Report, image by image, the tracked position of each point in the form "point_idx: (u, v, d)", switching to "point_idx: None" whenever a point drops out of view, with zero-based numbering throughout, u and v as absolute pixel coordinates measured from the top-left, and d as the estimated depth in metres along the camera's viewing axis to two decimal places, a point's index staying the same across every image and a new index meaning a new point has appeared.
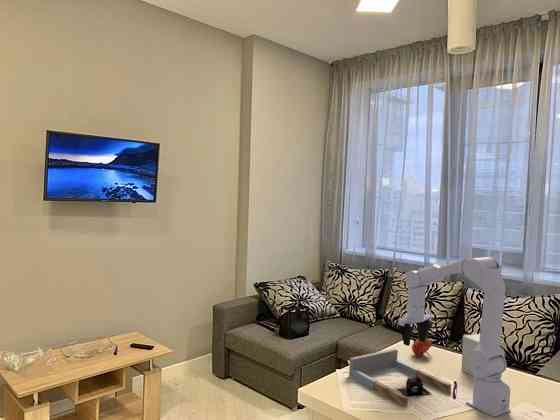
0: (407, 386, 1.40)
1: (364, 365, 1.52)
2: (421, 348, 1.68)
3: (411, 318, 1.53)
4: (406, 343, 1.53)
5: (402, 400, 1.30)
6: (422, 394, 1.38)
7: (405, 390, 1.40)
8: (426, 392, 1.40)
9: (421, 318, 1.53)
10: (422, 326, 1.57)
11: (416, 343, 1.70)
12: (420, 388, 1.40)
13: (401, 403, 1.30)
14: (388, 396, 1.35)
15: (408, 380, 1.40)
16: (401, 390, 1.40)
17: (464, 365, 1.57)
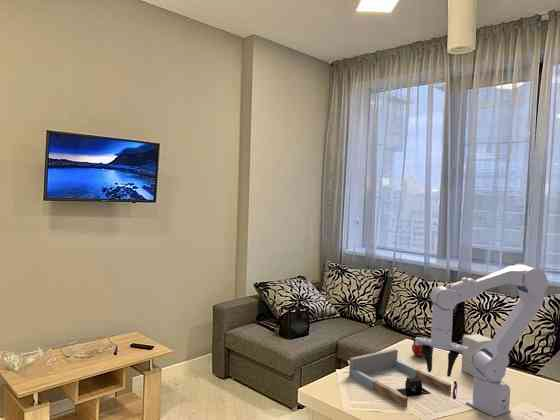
0: (407, 386, 1.40)
1: (364, 365, 1.52)
2: (421, 348, 1.68)
3: (430, 341, 1.32)
4: None
5: (402, 400, 1.30)
6: (422, 393, 1.39)
7: (405, 390, 1.40)
8: (425, 391, 1.40)
9: (438, 343, 1.29)
10: None
11: None
12: (419, 387, 1.40)
13: (401, 403, 1.30)
14: (388, 396, 1.35)
15: (408, 380, 1.40)
16: (401, 390, 1.40)
17: (464, 365, 1.57)
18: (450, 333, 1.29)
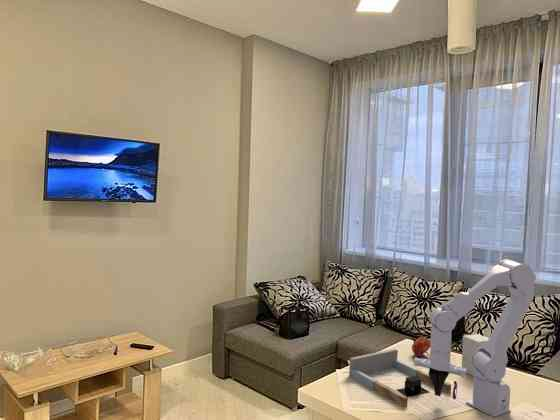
0: (406, 386, 1.40)
1: (364, 365, 1.52)
2: (421, 348, 1.68)
3: (429, 362, 1.33)
4: None
5: (402, 400, 1.30)
6: (421, 392, 1.39)
7: (404, 390, 1.40)
8: (424, 390, 1.41)
9: (436, 365, 1.29)
10: None
11: (416, 343, 1.70)
12: (418, 387, 1.41)
13: (401, 403, 1.30)
14: (388, 396, 1.35)
15: (407, 380, 1.40)
16: (400, 390, 1.40)
17: (464, 365, 1.57)
18: (449, 355, 1.29)
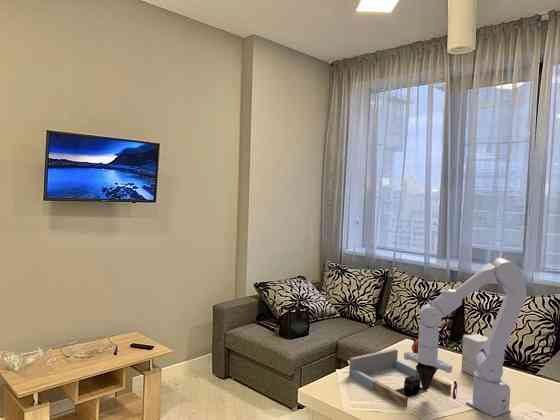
0: (406, 386, 1.40)
1: (364, 365, 1.52)
2: None
3: None
4: None
5: (402, 400, 1.30)
6: (421, 392, 1.40)
7: (404, 390, 1.40)
8: (422, 389, 1.42)
9: (422, 359, 1.34)
10: None
11: (416, 343, 1.70)
12: (417, 386, 1.41)
13: (401, 403, 1.30)
14: (388, 396, 1.35)
15: (407, 380, 1.40)
16: (400, 390, 1.40)
17: (464, 365, 1.57)
18: (435, 350, 1.33)
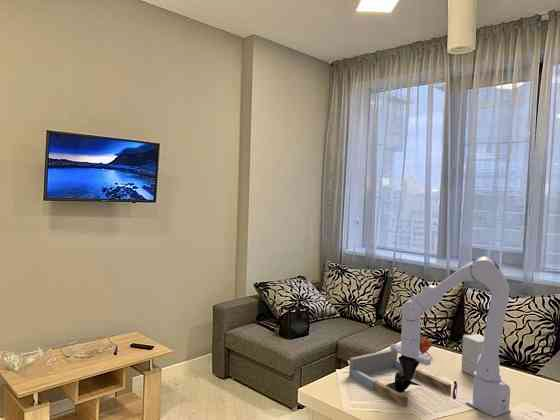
0: (396, 381, 1.43)
1: (364, 365, 1.52)
2: (421, 348, 1.68)
3: None
4: None
5: (402, 400, 1.30)
6: (411, 386, 1.43)
7: (395, 385, 1.43)
8: (412, 383, 1.45)
9: (403, 351, 1.40)
10: None
11: None
12: (407, 381, 1.45)
13: (401, 403, 1.30)
14: (388, 396, 1.35)
15: (397, 375, 1.44)
16: (391, 385, 1.43)
17: (464, 365, 1.57)
18: (415, 343, 1.39)
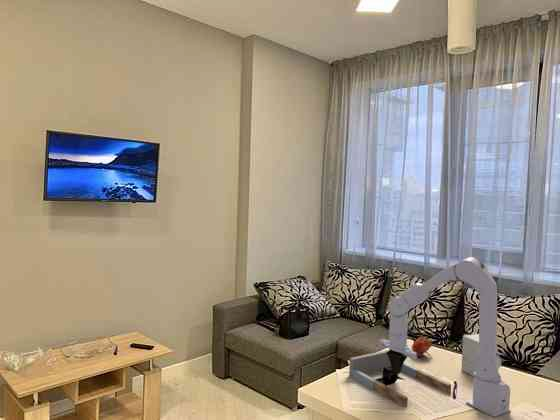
0: (384, 375, 1.48)
1: (364, 365, 1.52)
2: (421, 348, 1.68)
3: None
4: None
5: (402, 400, 1.30)
6: (398, 380, 1.47)
7: (382, 379, 1.48)
8: (400, 378, 1.49)
9: (390, 346, 1.45)
10: None
11: (416, 343, 1.70)
12: (395, 375, 1.49)
13: (401, 403, 1.30)
14: (388, 396, 1.35)
15: (385, 369, 1.48)
16: (379, 380, 1.48)
17: (464, 365, 1.57)
18: (402, 338, 1.43)
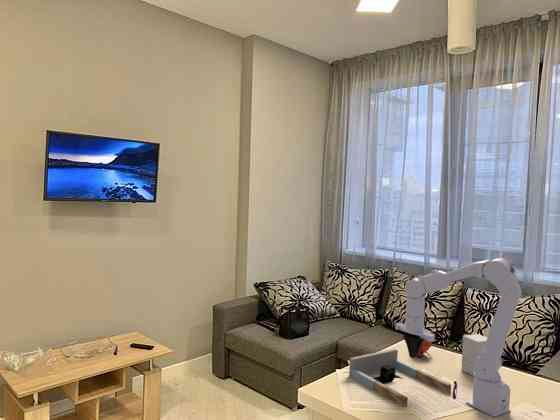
0: (381, 374, 1.49)
1: (364, 365, 1.52)
2: (421, 348, 1.68)
3: None
4: None
5: (402, 400, 1.30)
6: (395, 379, 1.48)
7: (380, 378, 1.49)
8: (397, 377, 1.50)
9: (407, 328, 1.43)
10: None
11: None
12: (392, 374, 1.50)
13: (401, 403, 1.30)
14: (388, 396, 1.35)
15: (382, 368, 1.49)
16: (376, 378, 1.49)
17: (464, 365, 1.57)
18: (419, 320, 1.41)
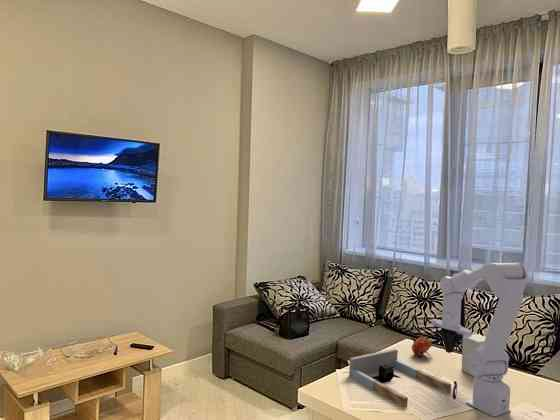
0: (380, 373, 1.49)
1: (364, 365, 1.52)
2: (421, 348, 1.68)
3: None
4: None
5: (402, 400, 1.30)
6: (394, 379, 1.49)
7: (378, 377, 1.49)
8: (396, 376, 1.51)
9: (444, 324, 1.48)
10: None
11: (416, 343, 1.70)
12: (391, 373, 1.50)
13: (401, 403, 1.30)
14: (388, 396, 1.35)
15: (381, 367, 1.49)
16: (375, 377, 1.49)
17: (464, 365, 1.57)
18: (456, 317, 1.47)
